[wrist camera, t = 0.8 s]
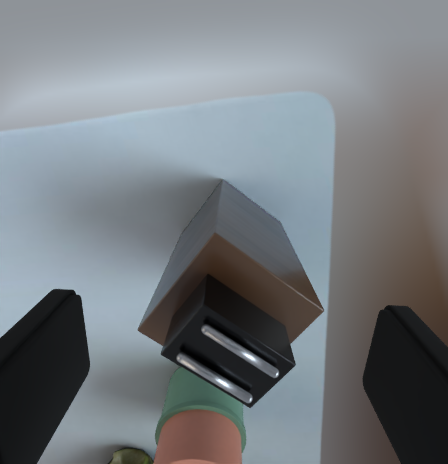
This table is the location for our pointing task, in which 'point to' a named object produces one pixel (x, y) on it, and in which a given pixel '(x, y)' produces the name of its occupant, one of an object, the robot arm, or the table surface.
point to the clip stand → (235, 265)
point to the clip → (228, 342)
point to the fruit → (131, 457)
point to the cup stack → (199, 424)
